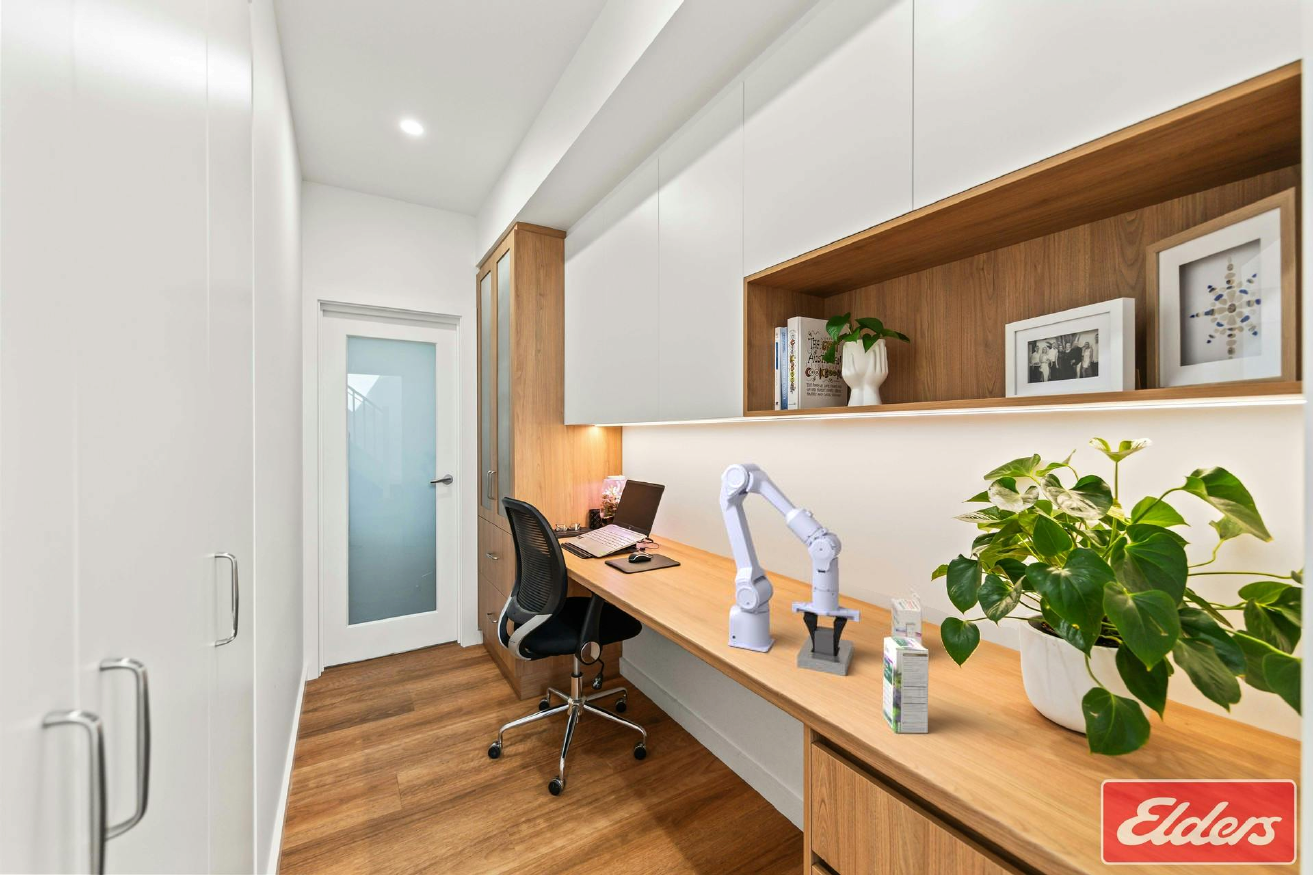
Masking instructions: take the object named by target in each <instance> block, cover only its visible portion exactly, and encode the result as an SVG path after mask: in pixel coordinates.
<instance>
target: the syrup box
mask: <svg viewBox="0 0 1313 875" xmlns="http://www.w3.org/2000/svg"><path fill="white" fill-rule="evenodd" d="M929 654H930V653H929V649H928V648H926V647H925V646H923V644H922V645H921V644H920V643H919V642H918V641H916V640H915V639H914V638H907V637H892V636H887V637H884V638H883V676H882V677H883V683H882V686H883V687H882V689H883V690H882V717H883V718H884V720H885V721H886V722H887V724H888V725H889V727H891V729H892V730H893V732H894V733H895V734H927V733H928V732H929V729H928V728H929V727H928V725H929V724H928V723H929V722H928V721H929V668H930V667H929V665H930V664H929V660H930V658H929Z"/></svg>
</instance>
